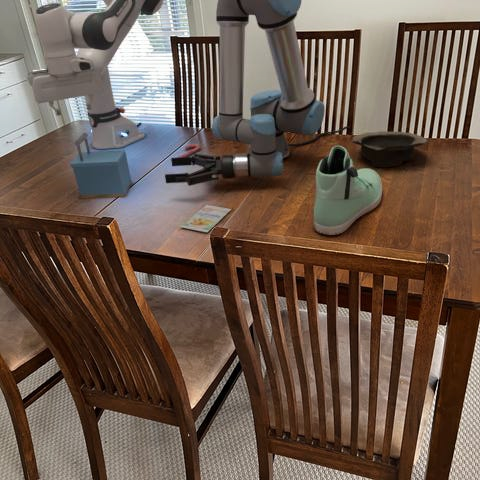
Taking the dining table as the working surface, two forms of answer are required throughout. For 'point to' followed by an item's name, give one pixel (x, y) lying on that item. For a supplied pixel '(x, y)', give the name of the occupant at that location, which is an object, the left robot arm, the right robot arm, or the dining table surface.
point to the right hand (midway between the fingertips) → (168, 170)
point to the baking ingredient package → (206, 218)
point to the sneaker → (343, 192)
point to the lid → (95, 155)
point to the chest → (103, 180)
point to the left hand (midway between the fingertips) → (74, 112)
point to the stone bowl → (388, 147)
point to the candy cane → (196, 148)
